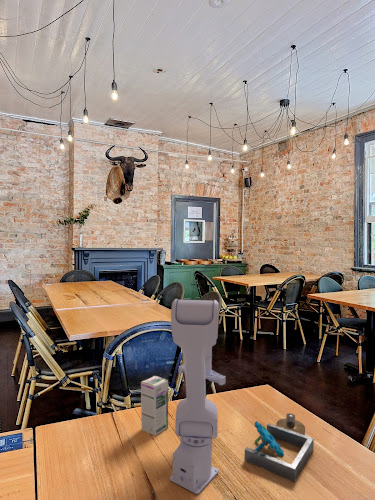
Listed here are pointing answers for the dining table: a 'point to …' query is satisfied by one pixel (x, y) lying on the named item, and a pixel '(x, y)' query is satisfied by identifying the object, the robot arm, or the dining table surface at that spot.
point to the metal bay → (277, 465)
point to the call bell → (291, 424)
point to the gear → (267, 440)
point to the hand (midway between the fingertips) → (201, 403)
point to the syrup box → (154, 405)
